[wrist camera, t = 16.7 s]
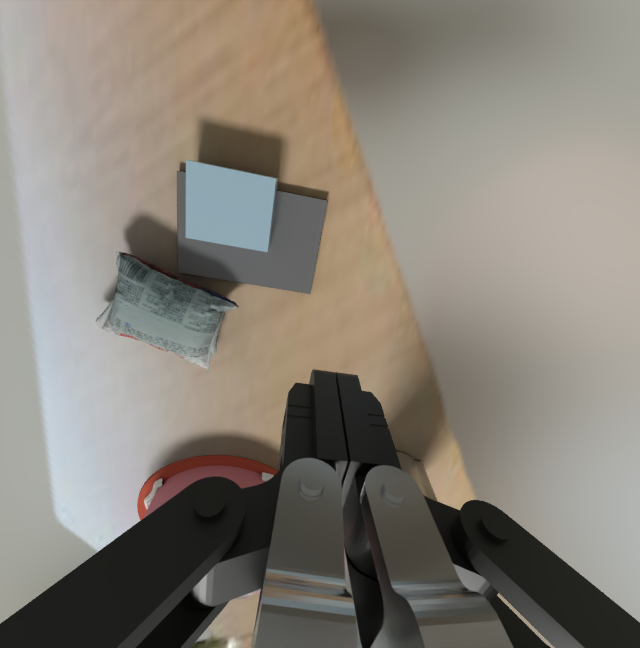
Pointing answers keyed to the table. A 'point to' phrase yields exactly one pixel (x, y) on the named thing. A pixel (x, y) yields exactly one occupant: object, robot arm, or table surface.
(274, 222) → the mat
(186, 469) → the cake
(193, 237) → the block
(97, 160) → the table surface
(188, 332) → the packaged food
